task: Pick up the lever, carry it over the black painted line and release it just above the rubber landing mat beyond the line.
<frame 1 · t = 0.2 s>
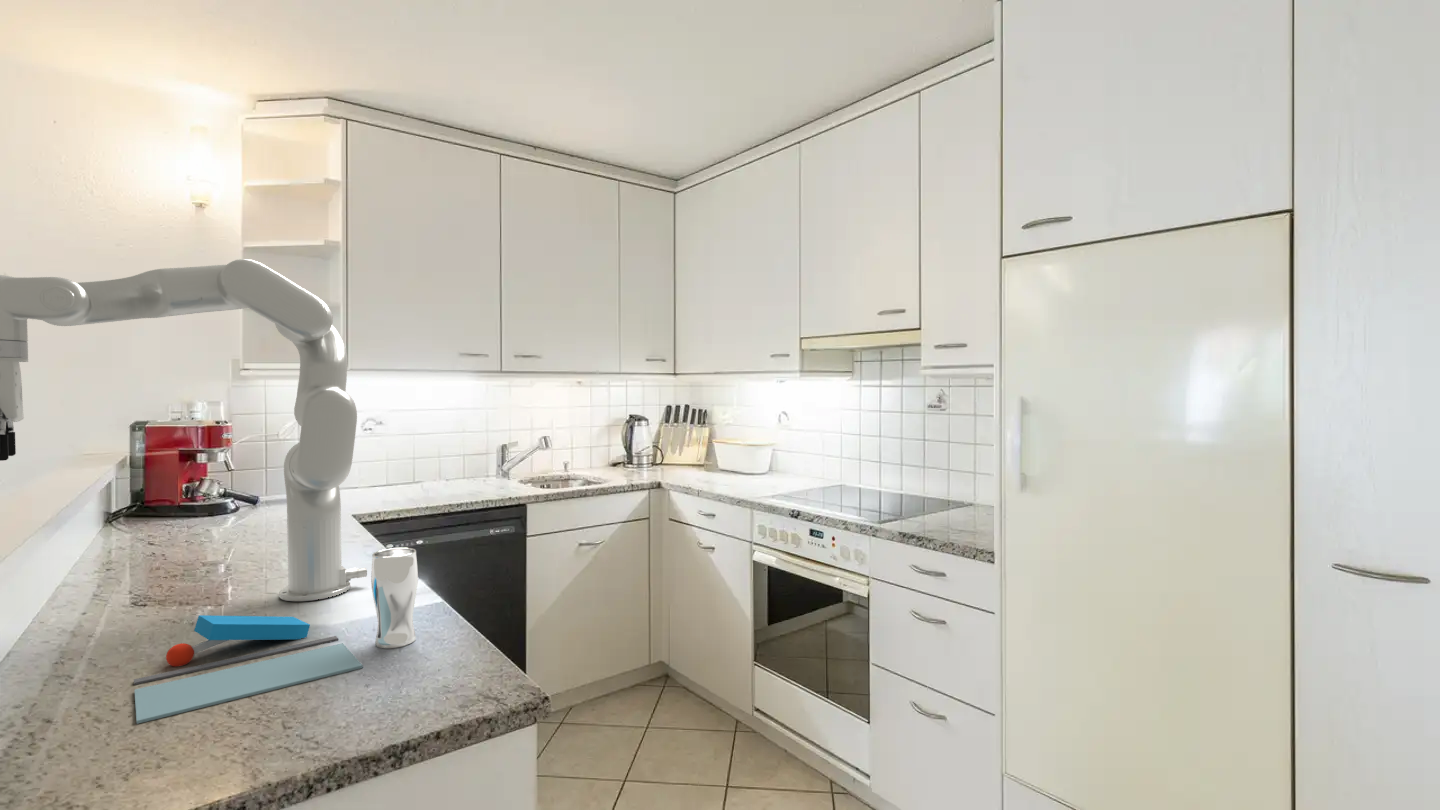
lever: (238, 651, 112), on the countertop
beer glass: (395, 643, 114), on the countertop
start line: (243, 659, 107), on the countertop
landing mat: (253, 679, 100), on the countertop
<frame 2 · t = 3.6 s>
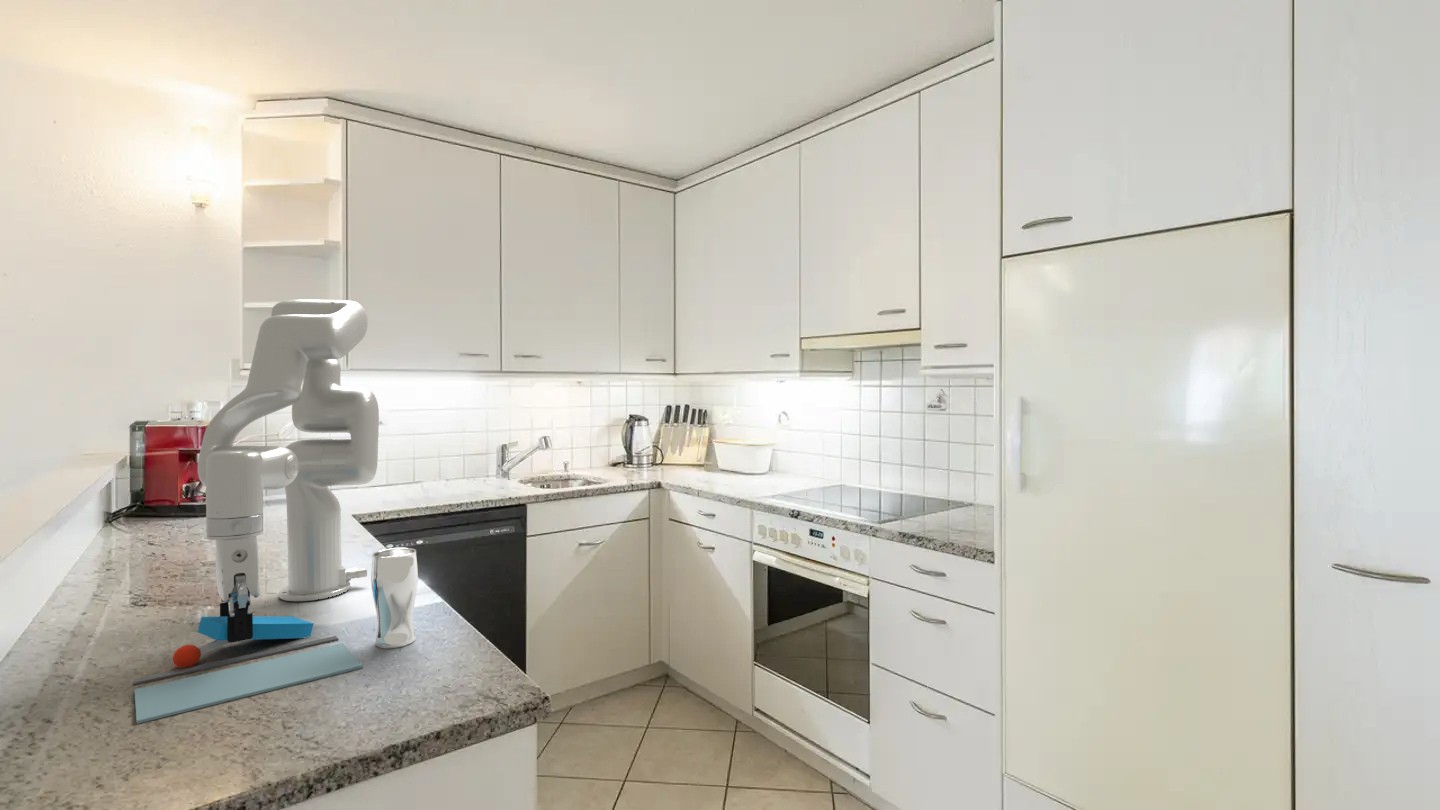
hand: (236, 632, 111), 3 cm above the countertop, tool pointing down, fingers open, 9 cm apart
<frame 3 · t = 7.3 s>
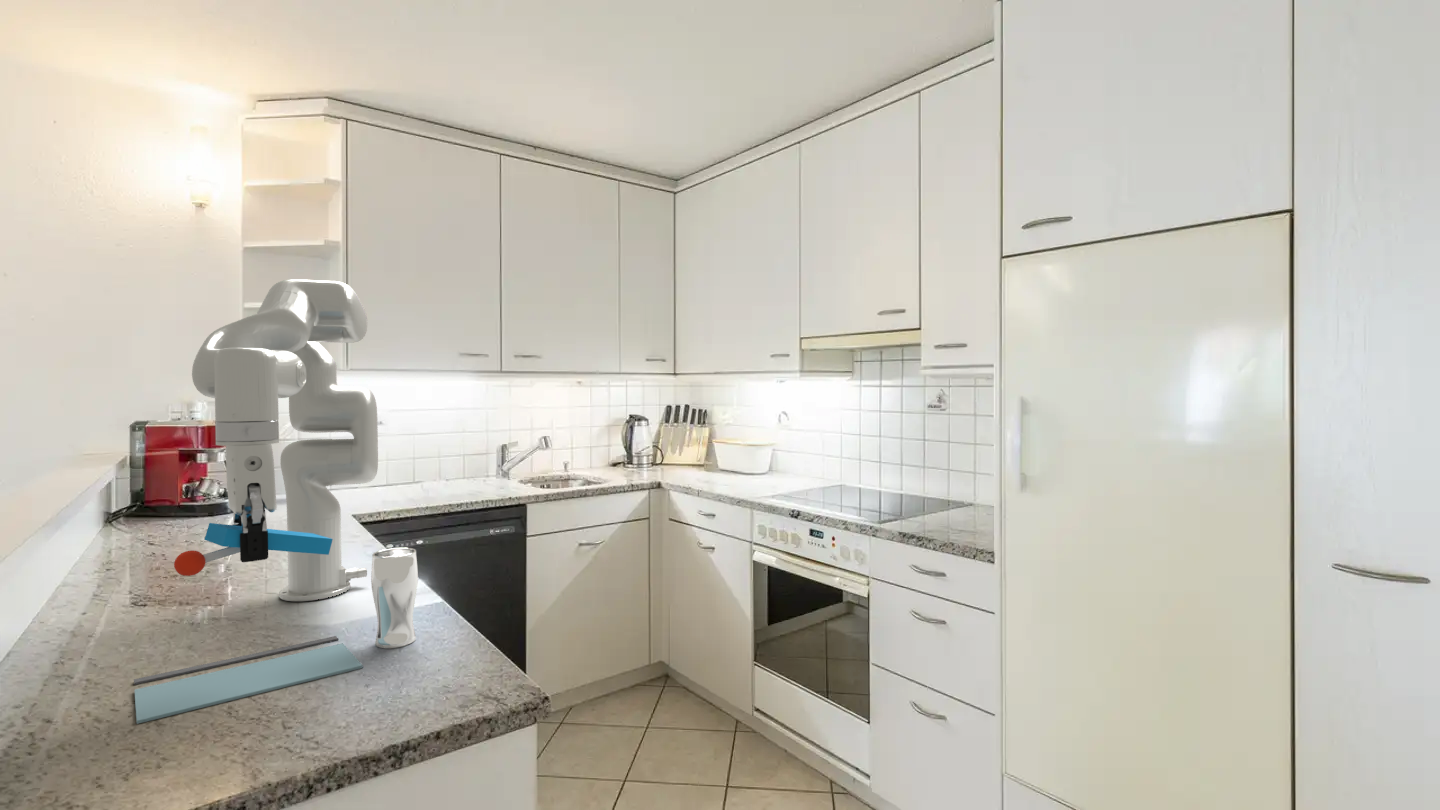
hand: (250, 554, 99), 18 cm above the countertop, tool pointing down, fingers closed on lever, 7 cm apart
lever: (254, 564, 100), point 17 cm above the countertop, touching gripper
everything else where it was.
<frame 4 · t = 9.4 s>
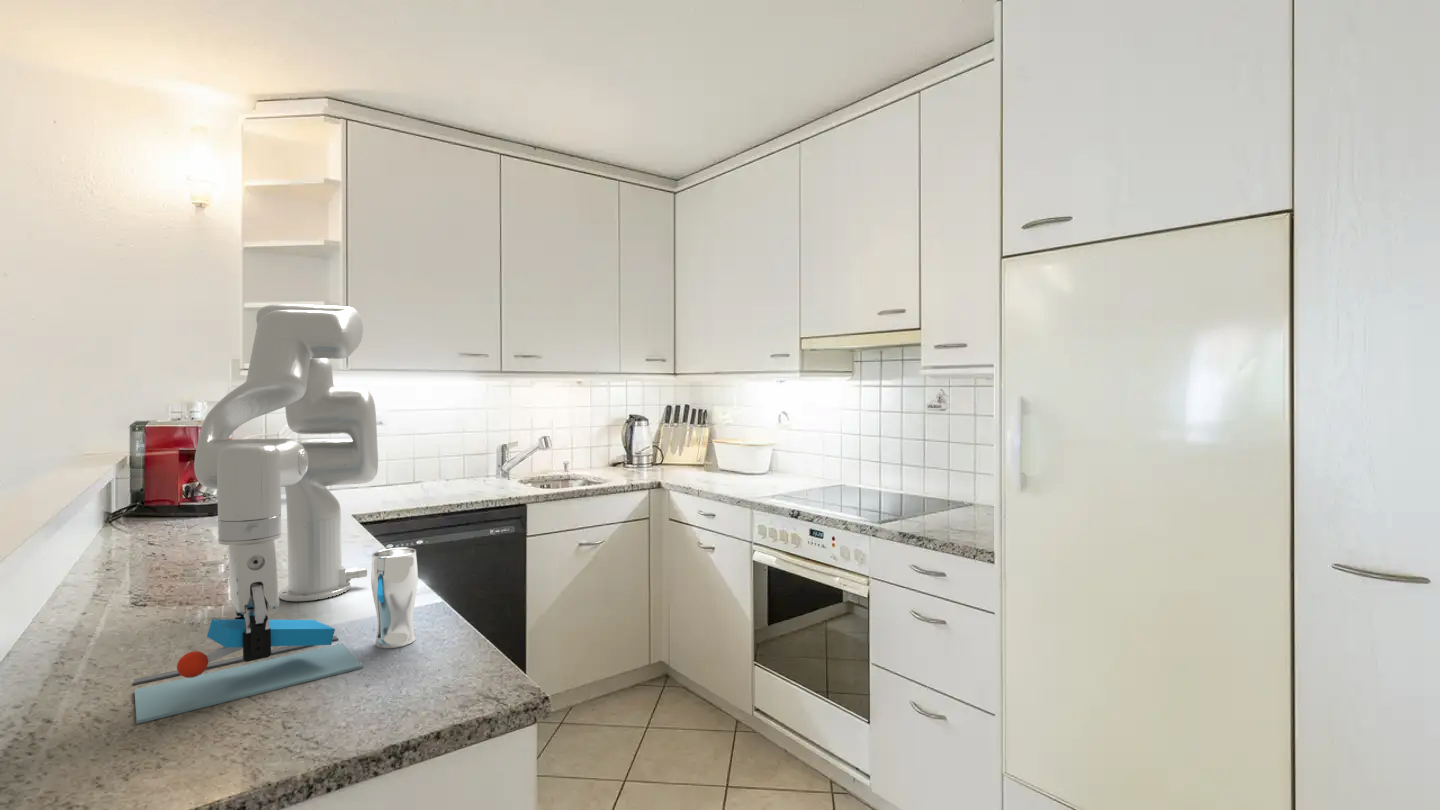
hand: (252, 649, 99), 4 cm above the countertop, tool pointing down, fingers closed on lever, 7 cm apart
lever: (257, 659, 100), point 3 cm above the countertop, touching gripper
everything else where it was.
when the fingers open (3 cm above the countertop, at t = 10.7 s): lever drops 1 cm, resting on landing mat.
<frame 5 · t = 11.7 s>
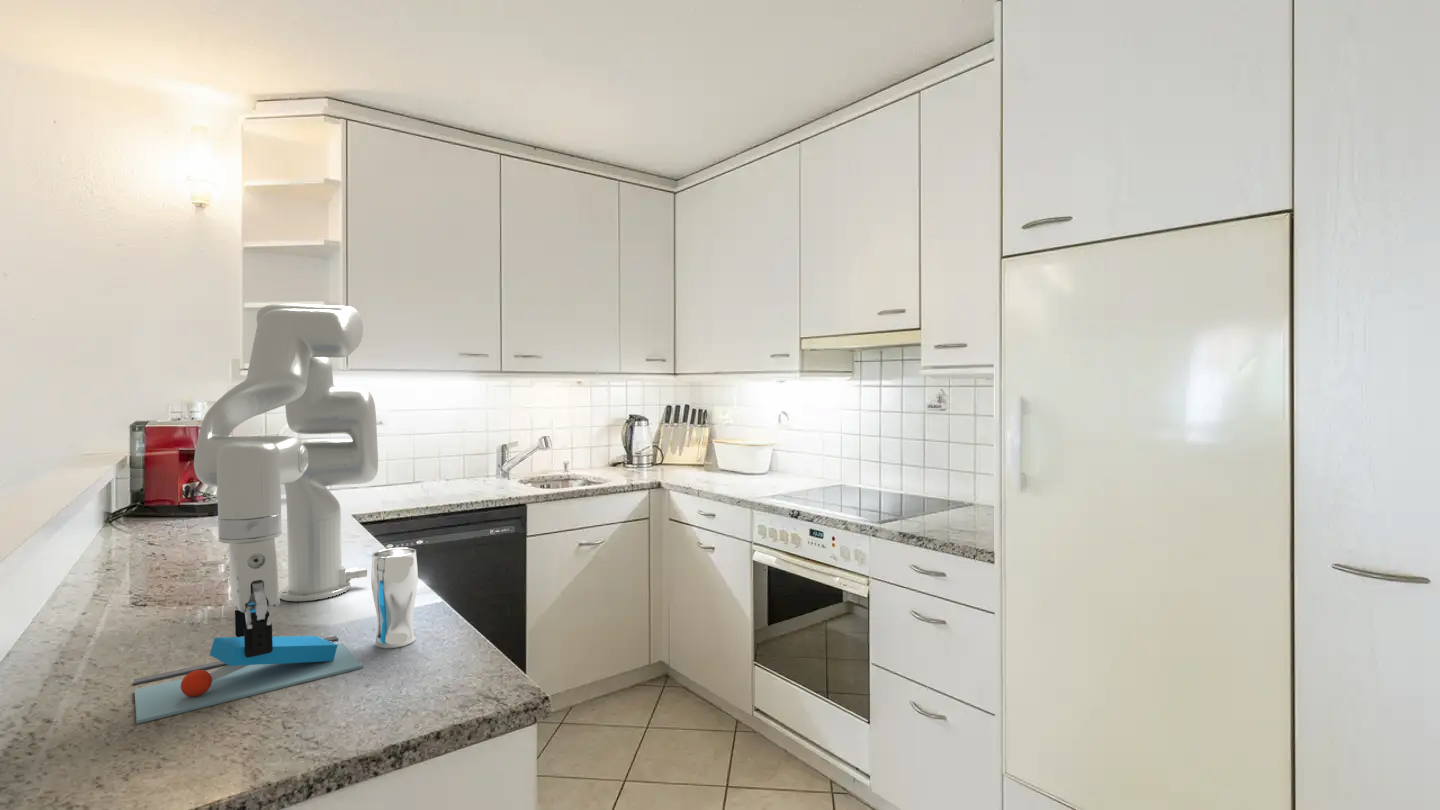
hand: (253, 644, 100), 5 cm above the countertop, tool pointing down, fingers open, 9 cm apart
lever: (260, 677, 100), resting on landing mat
everything else where it was.
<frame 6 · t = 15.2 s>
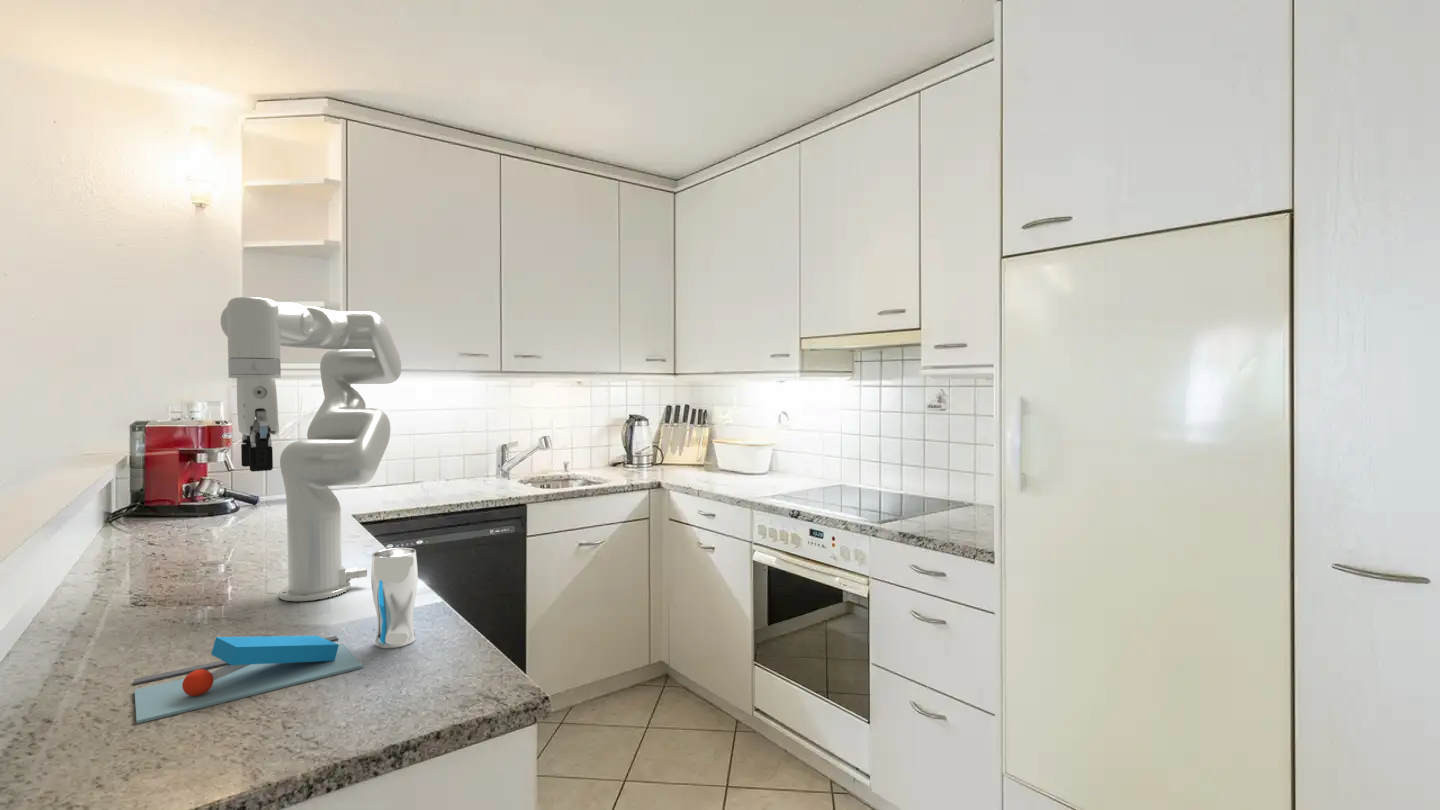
hand: (256, 468, 119), 28 cm above the countertop, tool pointing down, fingers open, 9 cm apart
nothing on the countertop moved.
at the end: lever inside the target area (1.1 cm from its centre), resting on landing mat; lever tilted 0°; the gripper is holding nothing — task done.
